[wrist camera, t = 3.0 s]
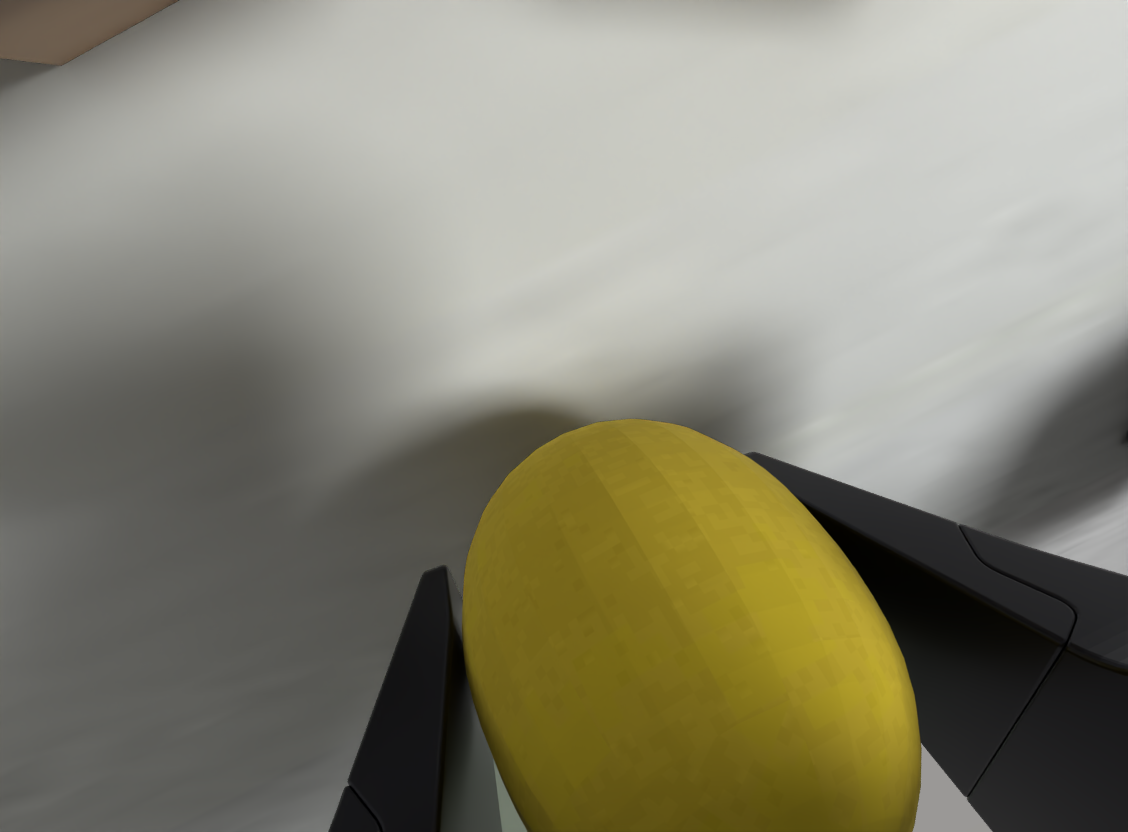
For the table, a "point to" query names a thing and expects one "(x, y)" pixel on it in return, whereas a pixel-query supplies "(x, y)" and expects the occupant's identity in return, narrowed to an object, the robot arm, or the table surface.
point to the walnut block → (66, 26)
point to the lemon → (680, 647)
